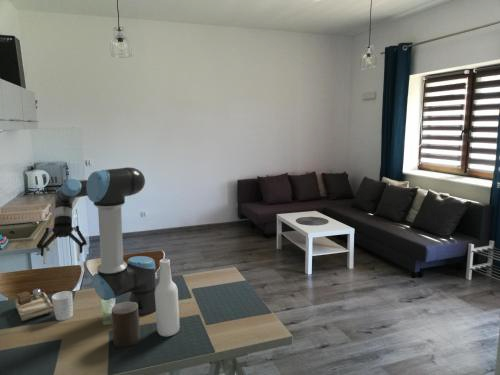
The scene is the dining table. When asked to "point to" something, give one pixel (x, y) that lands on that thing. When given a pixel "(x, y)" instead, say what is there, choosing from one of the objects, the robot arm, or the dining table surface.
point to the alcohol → (166, 302)
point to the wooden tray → (34, 307)
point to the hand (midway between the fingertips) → (61, 261)
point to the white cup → (63, 305)
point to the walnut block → (24, 298)
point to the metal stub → (37, 294)
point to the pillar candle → (125, 324)
